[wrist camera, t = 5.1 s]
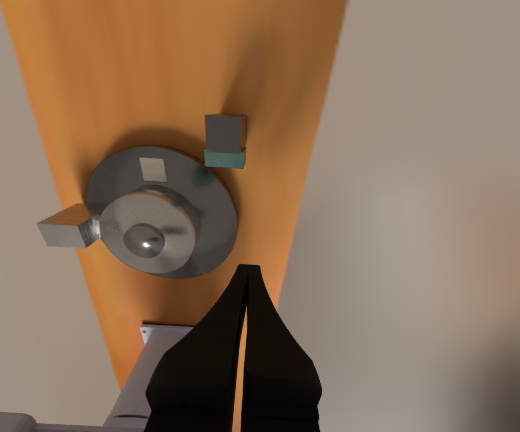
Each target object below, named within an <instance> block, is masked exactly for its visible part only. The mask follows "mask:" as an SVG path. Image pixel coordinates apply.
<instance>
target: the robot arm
mask: <svg viewBox="0 0 520 432" xmlns="http://www.w3.org/2000/svg"><path fill="white" fill-rule="evenodd" d="M246 306H247V338H246V349H245V361H244V377H243V398H242V411H241V432H320V429H319V423H318V420H319V413H318V408H317V406H318V403H319V400H320V398H321V395H322V387H321V383H320V380H319V377H318V374H317V371H316V369H315V366H314V364H313V361H312V360H311V359H310V357H309V356H308V355H307V354H306V353H305V352H304V350H303V349H302V348H301V347H300V345H299V344H298V343H297V342H296V340H295V339H294V338H293V336H292V335H291V334H290V332H289V330H288V329H287V328H286V326H285V325H284V323H283V321H282V320H281V318H280V317H279V315H278V313H277V311H276V309H275V307H274V305H273V303H272V301H271V299H270V297H269V294H268V292H267V289H266V287H265V284H264V281H263V278H262V274H261V268H260V266H259V265H247V264H239V265H238V267H237V269H236V272H235V274H234V276H233V277H232V279H231V281H230V283H229V284H228V286H227V288H226V289H225V291H224V292H223V294H222V295H221V296H220V298H219V299H218V301H217V302H216V303H215V305H214V306H213V307H212V308H211V309H210V311H209V312H208V313H207V314H206V315H205V316H204V317H203V319H202V320H201V321H200V322H199V323H198V324H197V325H196V326H195V327H183V326H166V325H149V324H142V325H141V326H140V331H141V334H142V337H143V340H144V343H145V346H144V348H143V350H142V352H141V354H140V356H139V358H138V360H137V362H136V364H135V366H134V368H133V370H132V372H131V374H130V376H129V378H128V380H127V381H126V383H125V385H124V387H123V389H122V391H121V393H120V395H119V397H118V399H117V401H116V403H115V405H114V407H113V409H112V411H111V413H110V415H109V417H107V419H106V421H105V423H104V425H103V426H81V425H61V424H41V423H36V420H35V419H34V418H33V417H32V416H30V415H28V414H23V413H8V412H0V432H232V424H233V412H234V401H235V390H236V379H237V368H238V357H239V347H240V340H241V334H242V328H243V323H244V317H245V312H246Z"/></svg>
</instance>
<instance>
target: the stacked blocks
mask: <svg viewBox="0 0 520 432" xmlns="http://www.w3.org/2000/svg"><path fill="white" fill-rule="evenodd" d="M205 125H206V143H207V148H206V149H204V157H205V166H208V167H224V168H239V169H243V168H244V166H245V163H246V147H244V146H245V145H246V130H247V115H234V114H211V115H205Z"/></svg>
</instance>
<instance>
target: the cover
mask: <svg viewBox="0 0 520 432" xmlns="http://www.w3.org/2000/svg"><path fill="white" fill-rule="evenodd" d="M99 228H100V234H101V237H102V239H103V241H104V243H105V245H106V246H107V248H108V249H109V250H110V251H111V253H112V254H113V255H114V256H115V257H117V258H118V259H119V260H120V261H122V262H123V263H125V264H126V265H128V266H130V267H132V268H135V269H137V270H140V271H144V272H148V273H167V272H171V271H174V270H176V269H178V268H180V267H181V266H183V265H184V264H185V263H186V262H187V260H188V259H189V257H190V255H191V253H192V251H193V249H194V247H195V245H196V243H197V241H198V239H199V237H200V234H201V220H200V217H199V214H198V212H197V210H196V209H195V207H194V206H193V204H192V203H191V202H190V201H189V200H188V199H187V198H186V197H184V196H183V195H182V194H180V193H179V192H177V191H175V190H173V189H171V188H168V187H165V186H161V185H143V186H140V187H137V188H135V189H133V190H132V191H130V192H128V193H127V194H125V195H123V196H122V197H120V198H118V199H117V200H115V201H114V202H112V203H110V204H109V205H108V206H107V207H106V208H105V209H104V211H103V212H102V214H101V217H100V222H99Z"/></svg>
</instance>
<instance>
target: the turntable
mask: <svg viewBox="0 0 520 432" xmlns="http://www.w3.org/2000/svg"><path fill="white" fill-rule="evenodd" d="M143 185H161V186H165V187H168V188H171V189H173V190H175V191H177V192H179V193H180V194H182V195H183V196H184V197H186V198H187V199H188V200H189V201H190V202H191V203H192V204H193V206H194V207H195V209H196V210H197V212H198V214H199V217H200V220H201V234H200V237H199V239H198V241H197V243H196V245H195V247H194V249H193V251H192V253H191V255H190V257H189V259H188V260H187V262H186V263H185V264H184V265H183V266H181V267H180V268H178V269H176V270H174V271H171V272H167V273H149V274H153V275H156V276H160V277H166V278H191V277H196V276H199V275H202V274H205V273H207V272H209V271H211V270H213V269H215V268H216V267H218V266H219V265H220V264H221V263H222V262H223V261H224V260H225V259H226V258H227V257H228V255H229V254H230V252H231V250H232V248H233V246H234V243H235V239H236V235H237V230H238V214H237V209H236V205H235V203H234V200H233V197H232V195H231V193H230V191H229V190H228V188H227V187H226V185H225V184H224V182H223V181H222V180H221V179H220V177H219V176H218V175H217V174H216V173H215V172H214V171H213V170H212V169H211V168H209V167H208V166H205V164H204V163H203V162H202V161H200V160H199V159H197V158H195V157H193V156H191V155H190V154H188V153H185V152H183V151H180V150H177V149H174V148H170V147H166V146H158V145H143V146H136V147H132V148H128V149H125V150H122V151H119V152H116V153H114V154H112V155H111V156H109V157H107V158H106V159H105V160H103V161H102V162H101V163H100V164H99V165H98V166H97V167H96V169H95V170H94V172H93V173H92V175H91V177H90V180H89V182H88V185H87V191H86V204H80V203H77V204H75V205H73V206H71V207H69V208H67V209H65V210H63V211H61V212H59V213H57V214H55V215H53V216H51V217H49V218H47V219H45V220H43V221H41V222H39V223H37V226H38V227H39V230H40V232H41V234H42V235H43V238H44V239H45V241H46V243H47V245H48V246H60V247H76V248H87V247H88V246H89V245H91V244H92V243H93V242H95V241H96V240H97V239H99V238H101V240H102V241H103V239H102V237H101V234H100V228H99V222H100V217H101V214H102V212H103V211H104V209H105V208H106V207H107V206H108V205H109V204H110V203H112V202H114V201H115V200H117V199H118V198H120V197H122V196H123V195H125V194H127V193H128V192H130V191H132V190H133V189H135V188H137V187H140V186H143ZM103 242H104V241H103ZM104 244H105V243H104ZM146 273H148V272H146Z"/></svg>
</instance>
